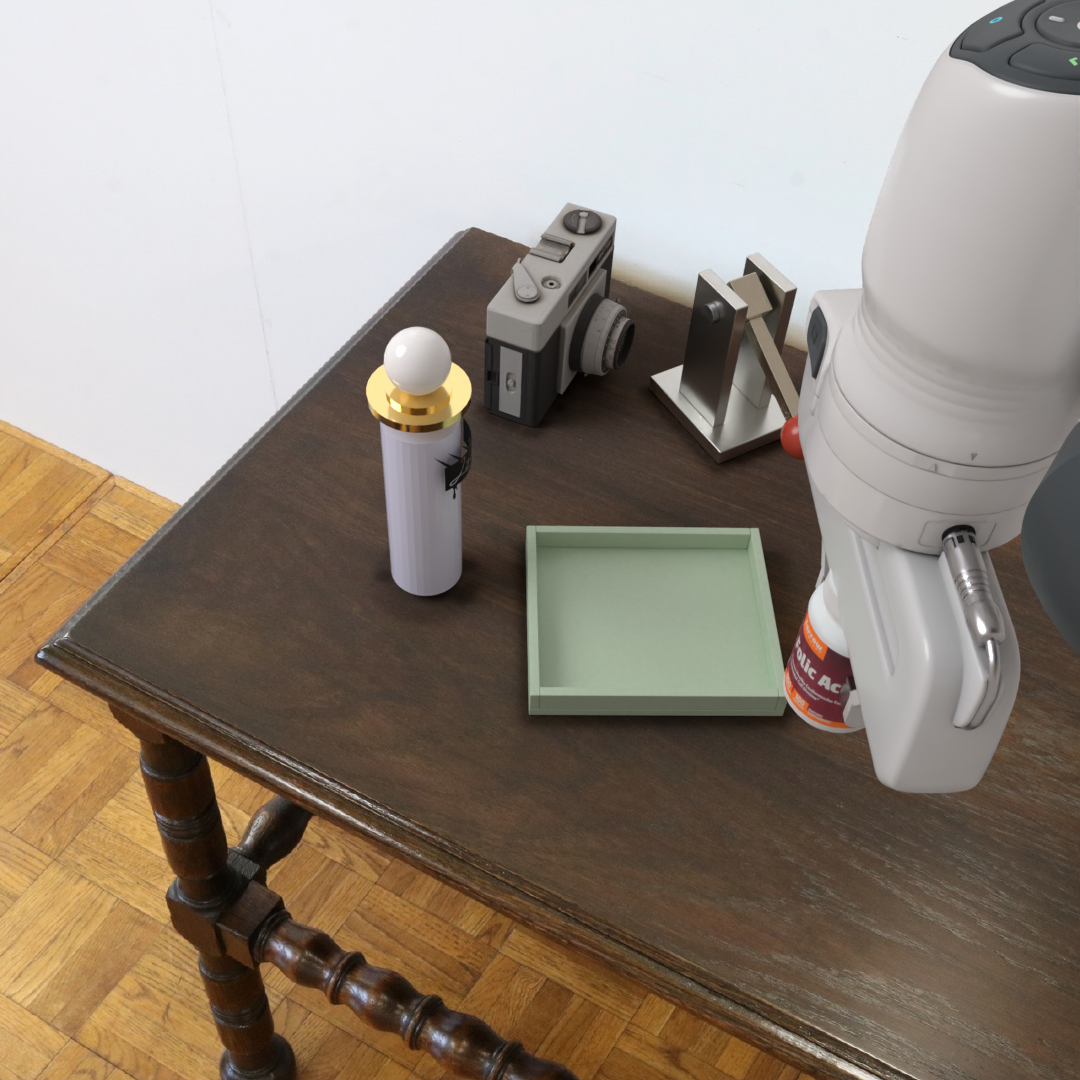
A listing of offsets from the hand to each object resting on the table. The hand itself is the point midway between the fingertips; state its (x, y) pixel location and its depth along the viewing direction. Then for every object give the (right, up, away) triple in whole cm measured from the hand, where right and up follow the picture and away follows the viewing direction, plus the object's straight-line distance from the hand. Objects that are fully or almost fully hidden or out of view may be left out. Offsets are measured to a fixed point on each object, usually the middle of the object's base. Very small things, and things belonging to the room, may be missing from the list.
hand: (846, 655), depth 57 cm
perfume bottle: (-21, +3, +25) cm, 32 cm away
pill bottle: (0, -2, +2) cm, 3 cm away
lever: (+1, +16, +29) cm, 34 cm away
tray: (-7, 0, +22) cm, 24 cm away
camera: (-12, +18, +38) cm, 44 cm away
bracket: (-1, +15, +36) cm, 39 cm away
